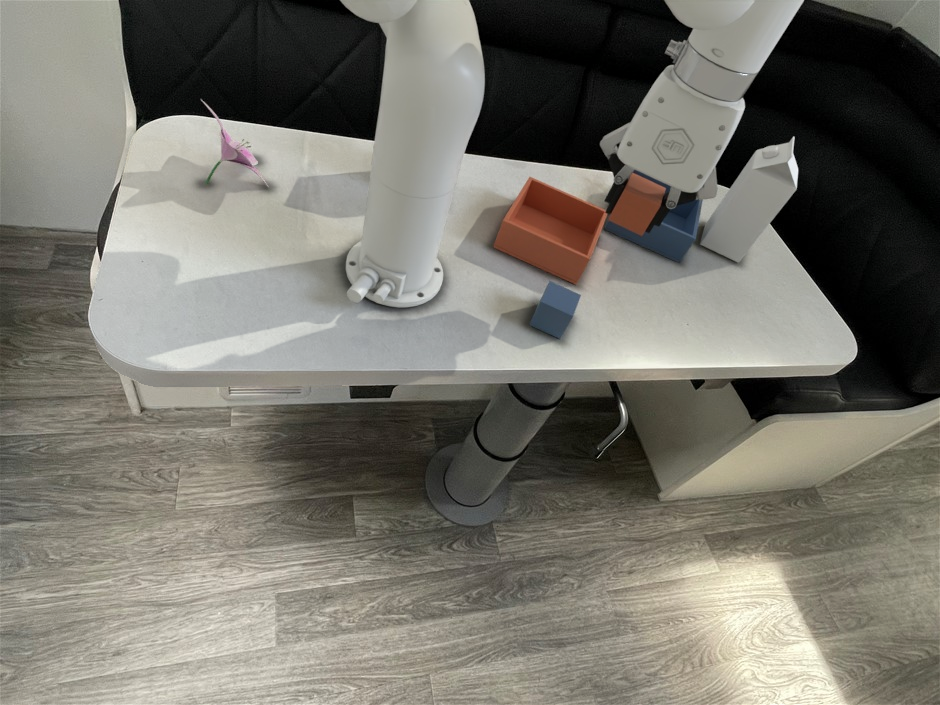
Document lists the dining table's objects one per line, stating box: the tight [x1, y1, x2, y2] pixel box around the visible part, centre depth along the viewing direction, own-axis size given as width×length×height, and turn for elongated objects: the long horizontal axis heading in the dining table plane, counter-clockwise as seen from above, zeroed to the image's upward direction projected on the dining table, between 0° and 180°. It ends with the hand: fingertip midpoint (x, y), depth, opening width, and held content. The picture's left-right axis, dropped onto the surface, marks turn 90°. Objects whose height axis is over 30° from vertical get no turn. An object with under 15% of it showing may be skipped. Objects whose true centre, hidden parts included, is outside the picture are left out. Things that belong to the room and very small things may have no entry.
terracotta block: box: [607, 173, 666, 236], centre depth 70 cm, size 4×4×4 cm
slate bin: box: [603, 170, 704, 264], centre depth 97 cm, size 13×13×5 cm
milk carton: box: [699, 136, 799, 264], centre depth 94 cm, size 7×7×19 cm
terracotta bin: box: [493, 176, 608, 286], centre depth 87 cm, size 13×13×5 cm
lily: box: [201, 99, 269, 187], centre depth 78 cm, size 12×12×10 cm
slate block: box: [528, 280, 582, 340], centre depth 77 cm, size 4×4×4 cm
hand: (629, 216), depth 72 cm, fingers closed on terracotta block, 4 cm apart
